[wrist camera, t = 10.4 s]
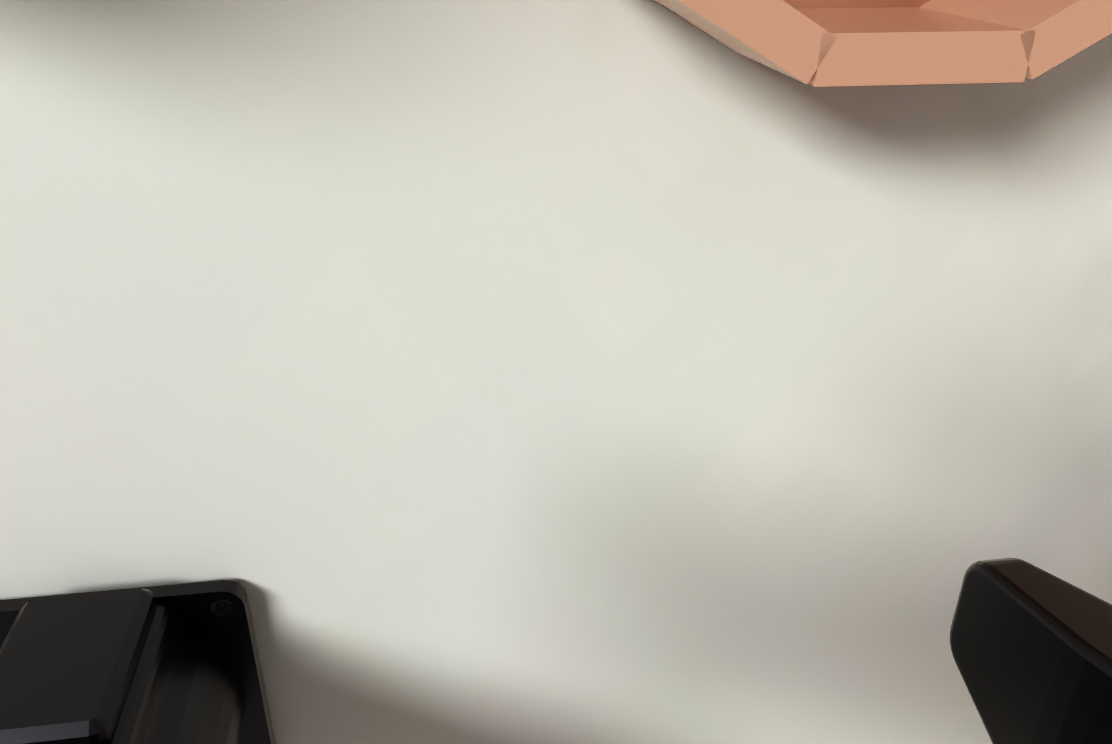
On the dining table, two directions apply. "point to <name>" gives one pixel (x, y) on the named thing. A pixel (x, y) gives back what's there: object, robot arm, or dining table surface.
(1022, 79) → the faceted terracotta bowl
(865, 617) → the dining table surface
